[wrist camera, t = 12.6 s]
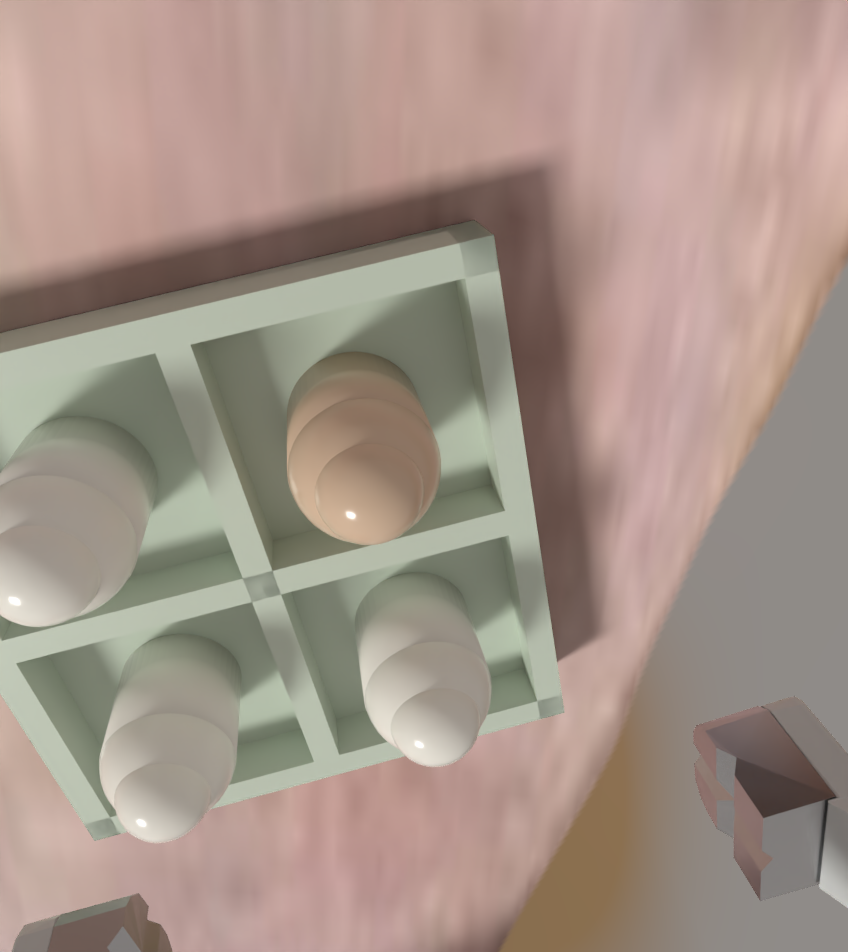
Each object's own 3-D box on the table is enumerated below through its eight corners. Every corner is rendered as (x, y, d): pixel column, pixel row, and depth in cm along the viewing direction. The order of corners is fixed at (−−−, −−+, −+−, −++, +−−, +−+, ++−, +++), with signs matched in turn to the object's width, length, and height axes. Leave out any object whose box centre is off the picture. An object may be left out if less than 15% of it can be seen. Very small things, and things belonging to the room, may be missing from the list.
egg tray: (-145, 367, 23) (-190, 398, 21) (474, 220, 24) (493, 234, 22) (107, 788, 32) (94, 840, 30) (545, 669, 33) (564, 712, 31)
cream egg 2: (102, 652, 28) (55, 804, 22) (220, 621, 28) (204, 763, 22) (146, 734, 30) (114, 894, 24) (256, 705, 30) (250, 856, 25)
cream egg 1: (-13, 435, 24) (-110, 554, 18) (127, 401, 24) (78, 507, 18) (48, 550, 26) (-20, 690, 20) (177, 518, 26) (146, 646, 20)
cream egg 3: (341, 589, 29) (357, 723, 23) (456, 559, 29) (500, 683, 23) (368, 675, 31) (389, 817, 25) (475, 647, 31) (520, 781, 25)
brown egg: (270, 370, 24) (265, 464, 18) (404, 337, 24) (442, 419, 19) (307, 488, 26) (313, 606, 20) (431, 456, 27) (472, 564, 21)
